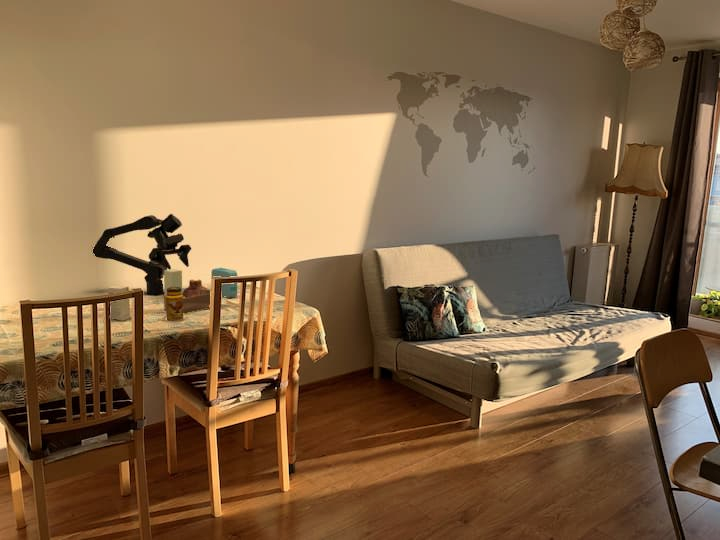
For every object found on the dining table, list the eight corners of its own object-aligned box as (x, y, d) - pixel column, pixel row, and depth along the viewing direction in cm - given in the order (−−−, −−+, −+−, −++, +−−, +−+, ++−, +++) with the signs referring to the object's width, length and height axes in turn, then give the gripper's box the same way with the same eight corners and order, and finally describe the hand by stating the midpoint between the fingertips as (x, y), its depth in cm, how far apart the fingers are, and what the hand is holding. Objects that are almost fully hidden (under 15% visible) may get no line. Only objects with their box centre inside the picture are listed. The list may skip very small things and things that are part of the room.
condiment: (176, 322, 217) (176, 290, 215) (157, 320, 219) (156, 288, 217) (188, 317, 224) (187, 287, 221) (169, 315, 226) (168, 285, 224)
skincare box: (130, 318, 220) (129, 286, 218) (122, 321, 216) (121, 288, 214) (116, 316, 222) (115, 284, 220) (108, 319, 218) (107, 286, 216)
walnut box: (164, 310, 234) (163, 295, 233) (202, 302, 249) (202, 288, 248) (180, 314, 228) (180, 299, 227) (218, 306, 243) (218, 291, 242)
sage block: (164, 303, 244) (164, 270, 242) (175, 301, 248) (174, 269, 246) (172, 305, 242) (171, 272, 239) (182, 303, 246) (181, 270, 243)
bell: (176, 297, 258) (176, 280, 256) (192, 291, 269) (192, 276, 268) (200, 299, 254) (200, 283, 253) (214, 294, 266) (214, 278, 264)
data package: (237, 297, 260) (237, 270, 258) (229, 298, 257) (229, 272, 255) (219, 293, 267) (219, 267, 265) (211, 294, 263) (211, 268, 261)
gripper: (151, 229, 244) (169, 258, 240) (188, 226, 259) (205, 253, 255) (141, 245, 250) (157, 274, 246) (177, 242, 265) (193, 269, 261)
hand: (179, 267), depth 252 cm, fingers open, 9 cm apart
